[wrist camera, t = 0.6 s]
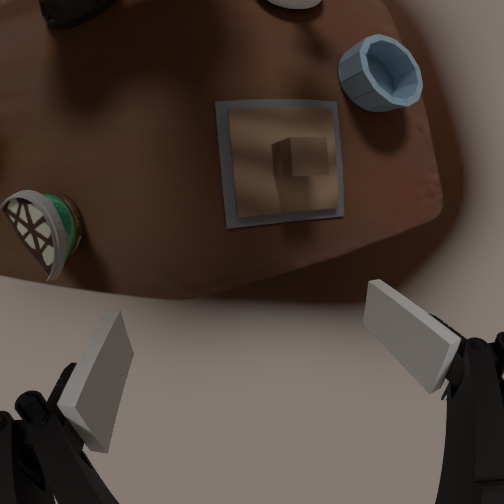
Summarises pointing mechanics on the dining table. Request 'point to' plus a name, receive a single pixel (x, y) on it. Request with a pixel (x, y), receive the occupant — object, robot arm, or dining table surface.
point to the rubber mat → (227, 168)
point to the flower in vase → (295, 3)
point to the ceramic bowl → (380, 75)
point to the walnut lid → (283, 160)
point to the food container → (46, 226)
